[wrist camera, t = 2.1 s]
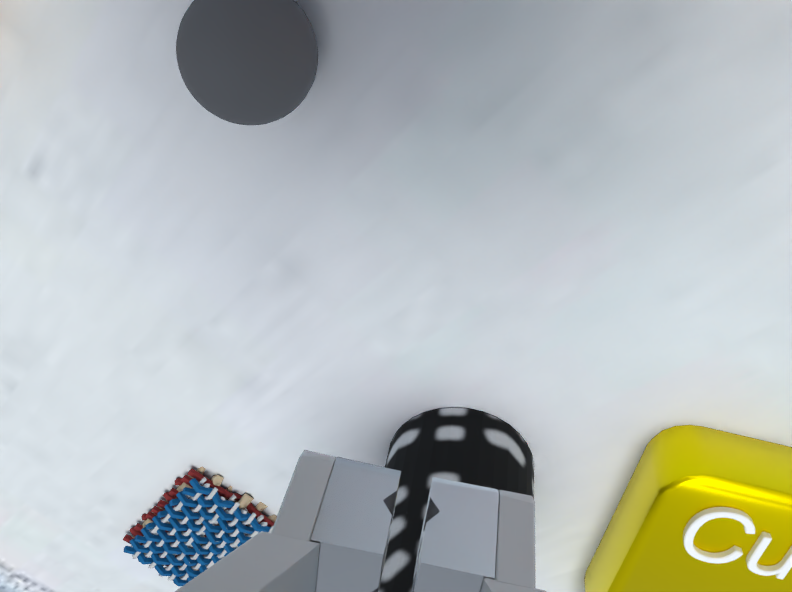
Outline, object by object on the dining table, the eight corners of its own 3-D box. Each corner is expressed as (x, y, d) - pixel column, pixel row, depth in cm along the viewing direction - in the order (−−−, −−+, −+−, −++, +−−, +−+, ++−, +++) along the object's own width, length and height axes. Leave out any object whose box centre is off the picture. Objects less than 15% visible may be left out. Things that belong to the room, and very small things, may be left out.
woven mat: (200, 450, 47) (187, 473, 45) (334, 540, 49) (327, 566, 48) (124, 528, 52) (110, 552, 50) (249, 607, 54) (240, 632, 53)
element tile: (574, 587, 48) (578, 657, 44) (659, 410, 40) (673, 475, 36) (810, 645, 47) (836, 720, 43) (944, 477, 39) (991, 551, 35)
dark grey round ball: (205, -41, 31) (148, -19, 26) (336, -20, 31) (301, 6, 26) (207, 91, 34) (156, 131, 29) (326, 111, 34) (293, 155, 29)
